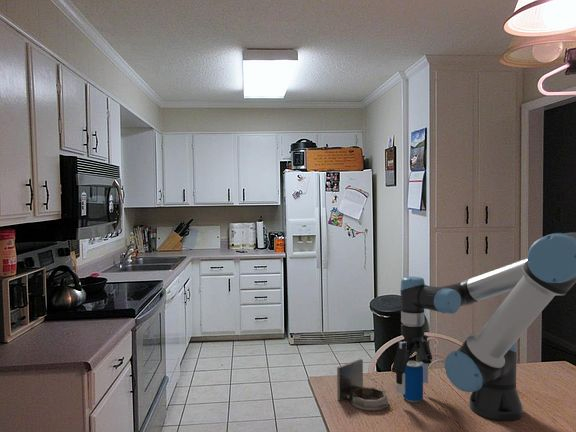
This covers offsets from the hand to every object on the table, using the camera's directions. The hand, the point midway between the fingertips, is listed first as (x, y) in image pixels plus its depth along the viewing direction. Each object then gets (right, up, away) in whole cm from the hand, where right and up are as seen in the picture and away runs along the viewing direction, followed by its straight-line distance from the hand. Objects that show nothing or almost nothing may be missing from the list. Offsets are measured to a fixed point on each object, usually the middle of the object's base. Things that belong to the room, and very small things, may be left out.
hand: (412, 387), depth 150 cm
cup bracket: (-16, -4, -2) cm, 16 cm away
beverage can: (0, -4, 0) cm, 4 cm away
